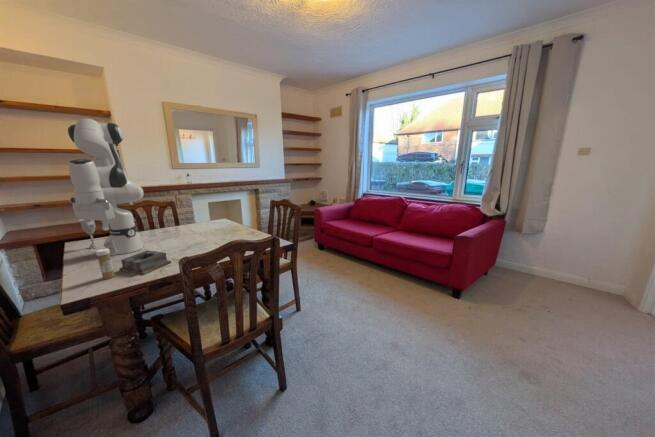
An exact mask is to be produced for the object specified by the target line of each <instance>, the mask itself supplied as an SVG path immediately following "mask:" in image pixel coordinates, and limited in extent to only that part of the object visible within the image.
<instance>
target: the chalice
mask: <svg viewBox="0 0 655 437" xmlns="http://www.w3.org/2000/svg"><path fill="white" fill-rule="evenodd" d="M78 221H79V223H80V225H81V228H82V230H83V231H84V232H85V234H87V235H89V238H90V241H91V244H89V248H94V249H97V248H96V247H98V248H100V247H99V246H100V245H99V243H97V242H96V243H95V239H94V236H93V234H94V233H95V231H96V227H97V226H96V223H95V220H91V221H92V223H93V224H94V226H95V228H94V229H88V226H87V224H86V223H85V222H84V219H79V220H78ZM89 248H88V249H89Z"/></svg>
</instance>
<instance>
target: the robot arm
mask: <svg viewBox="0 0 655 437" xmlns="http://www.w3.org/2000/svg"><path fill="white" fill-rule="evenodd" d="M67 133H68V134H67V135H68V137H69V139H70V140H71V142H72V143H74V145H75V146H76V148H78V150H80V151H81V152H82V153H85V154H87V155H90V156H93V160H92V159H87V158H82V159H81V158H80V159H72V160H70V161H69V162H68V172H69V180H70V182H71V185H73V188H74V190H73V192H74V195H73V196H72V197H70V198H69V202H70V204H72V209H73V212H74V215H75V217H76V218H77V219H79V220H81V219H84V222H85V223H86V224H87V226H88V229H94V228H95V229H96V227H95V226H96V225H95V226H94V224H93V223H92V221H91V220H94V221H100V222H101V224H102V226H101V229H102V231H105V232H106V231H109V236H108V237H107V238H106V239H105V240H104V242H103V246H104V248H102V249H105V248H107V249H109V251H110V257H111V256H117V255H122V254H123V255H124V254H129V253H133V252H134V253H135V252H137V251H139V250H142V249H143V248H144V246H145V242H143V240H142V238H141V234H140V233H139V232H138V228H137V225H136V224H135V218H134V215H133V213H132V211H130V210H127V209H124V208H120V207H118V206H117V205H121V204H127V203H128V204H129V203H135V202H138V201H141V200H142V199H143V197H144V189H143V187H141V185H139V184H138V183H135V182H134V181H132V180H131V179H130V178H128V175H127V172H126V171H125V169H124V168H123V165H122V163H121V159H120V155H119V153H118V151H117V148H116V147H118V146H119V144H121V143H122V141H123V140H124V134H123V131H122V129H121V127H120V126H119V125H118V124H117V123H114V122H113V123H112V122H98V121H96V120H95V119H92V118H89V117H88V118H87V117H86V118H81V119H80V118H79V120H77V122H76V124H72V125H70V126H69V127H68V128H67ZM109 226H110V227H109Z"/></svg>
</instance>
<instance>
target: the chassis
mask: <svg viewBox="0 0 655 437" xmlns="http://www.w3.org/2000/svg"><path fill="white" fill-rule="evenodd" d="M120 261H121V265H122V267H119V271H123V272H128V273H131V274H132V273H134V274H139V275H143V276H144V275H145V276H146V275H148V274H150V273H152V272H154V271H156V270H158V269H160V268H163V267H166V266H167V265H170V264H172V261H171V260H168V258H167V252H163V251H156V250H155V251H154V250H149V249H148V250H145V251H142V252H139V253H137V254H133V255H130V256H128V257H126V258H125V257H124V258H122V259H121V260H120Z"/></svg>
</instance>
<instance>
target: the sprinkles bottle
mask: <svg viewBox="0 0 655 437" xmlns="http://www.w3.org/2000/svg"><path fill="white" fill-rule="evenodd" d="M104 248H105V247H104ZM95 255H96V256H97V259H98V265H99V268H100V272H101V275H102V279H103V280H109V279H112V278H114V277H116V274H115V268H114V264H113V261H112V257H111V255H110V251H109V249H107V248H105V249H103V248H101V249H98V250H96V251H95Z"/></svg>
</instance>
